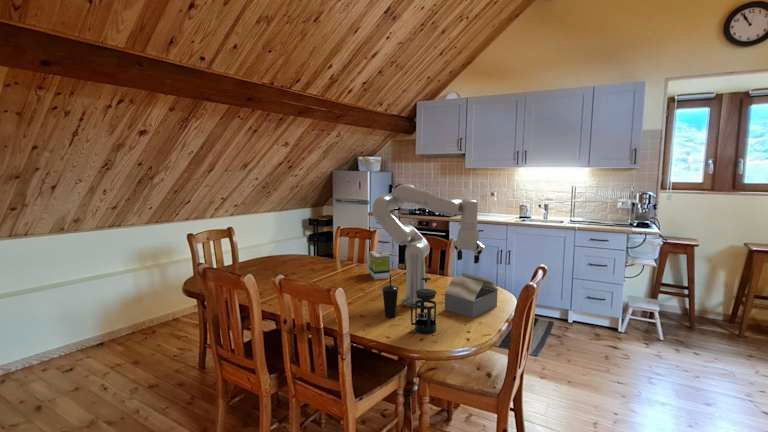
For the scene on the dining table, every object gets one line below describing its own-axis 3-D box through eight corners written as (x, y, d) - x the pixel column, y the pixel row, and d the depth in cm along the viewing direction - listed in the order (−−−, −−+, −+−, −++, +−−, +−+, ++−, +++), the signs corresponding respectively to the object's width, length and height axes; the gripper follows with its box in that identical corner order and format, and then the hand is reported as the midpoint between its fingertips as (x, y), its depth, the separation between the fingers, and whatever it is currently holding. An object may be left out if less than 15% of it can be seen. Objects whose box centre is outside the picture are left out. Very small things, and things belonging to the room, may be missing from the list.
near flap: (473, 301, 189) (473, 300, 188) (445, 293, 200) (444, 292, 199) (483, 283, 194) (483, 281, 193) (455, 276, 205) (454, 275, 204)
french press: (433, 324, 183) (434, 274, 180) (441, 332, 174) (442, 280, 171) (407, 326, 180) (408, 275, 177) (414, 335, 171) (415, 282, 168)
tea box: (368, 273, 266) (368, 251, 264) (383, 272, 269) (383, 250, 267) (374, 279, 251) (374, 256, 249) (390, 278, 254) (390, 255, 252)
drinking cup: (388, 312, 197) (389, 271, 195) (401, 316, 193) (401, 274, 190) (378, 316, 192) (378, 275, 189) (391, 320, 187) (391, 278, 184)
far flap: (489, 280, 198) (490, 279, 198) (461, 274, 209) (461, 272, 209) (497, 290, 204) (498, 289, 205) (469, 284, 215) (470, 282, 216)
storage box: (473, 318, 190) (473, 301, 189) (444, 309, 201) (445, 293, 200) (496, 306, 206) (497, 290, 204) (469, 298, 217) (469, 284, 215)
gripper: (449, 224, 198) (448, 259, 201) (480, 228, 186) (479, 266, 189) (457, 223, 204) (457, 257, 206) (489, 226, 192) (488, 263, 194)
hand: (468, 261), depth 197 cm, fingers open, 8 cm apart
